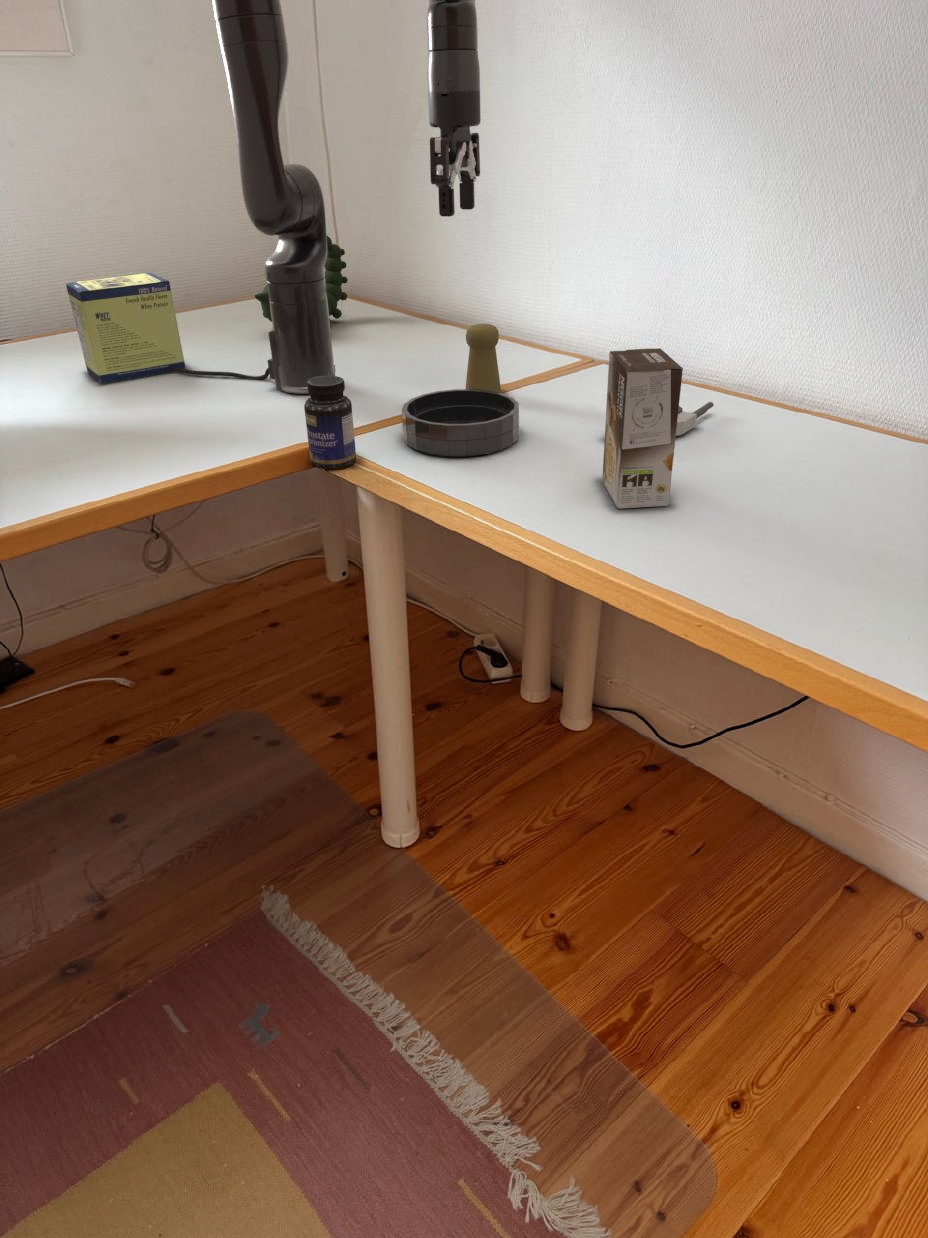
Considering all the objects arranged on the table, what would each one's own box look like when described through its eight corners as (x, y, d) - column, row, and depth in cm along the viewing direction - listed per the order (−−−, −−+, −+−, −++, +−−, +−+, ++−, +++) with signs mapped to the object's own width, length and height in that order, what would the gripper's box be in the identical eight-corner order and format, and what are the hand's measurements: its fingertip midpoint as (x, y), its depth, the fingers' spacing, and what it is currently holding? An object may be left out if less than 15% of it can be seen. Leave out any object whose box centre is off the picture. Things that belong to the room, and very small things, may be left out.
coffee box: (670, 506, 99) (685, 367, 91) (616, 510, 99) (626, 370, 90) (649, 477, 107) (661, 346, 99) (599, 479, 107) (607, 349, 98)
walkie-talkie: (657, 455, 113) (717, 414, 127) (660, 423, 111) (721, 384, 124) (599, 443, 118) (662, 404, 131) (600, 411, 116) (665, 376, 129)
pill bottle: (302, 468, 113) (291, 385, 107) (324, 452, 118) (315, 372, 112) (344, 473, 111) (335, 388, 105) (364, 456, 116) (357, 375, 110)
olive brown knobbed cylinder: (498, 401, 135) (498, 329, 129) (461, 399, 136) (459, 328, 130) (504, 389, 140) (504, 320, 134) (468, 388, 141) (466, 319, 135)
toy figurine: (326, 323, 192) (242, 337, 173) (322, 231, 183) (233, 235, 165) (358, 328, 187) (275, 342, 169) (355, 234, 179) (267, 238, 160)
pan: (385, 451, 117) (382, 418, 115) (431, 415, 130) (429, 385, 128) (496, 464, 112) (496, 430, 110) (533, 425, 125) (533, 394, 122)
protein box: (187, 369, 156) (170, 279, 148) (100, 385, 149) (77, 291, 141) (169, 357, 163) (152, 271, 155) (85, 372, 156) (62, 282, 148)
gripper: (448, 88, 129) (451, 206, 138) (409, 89, 118) (416, 217, 127) (495, 87, 127) (495, 207, 136) (460, 87, 116) (463, 218, 124)
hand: (457, 212), depth 131 cm, fingers open, 8 cm apart
